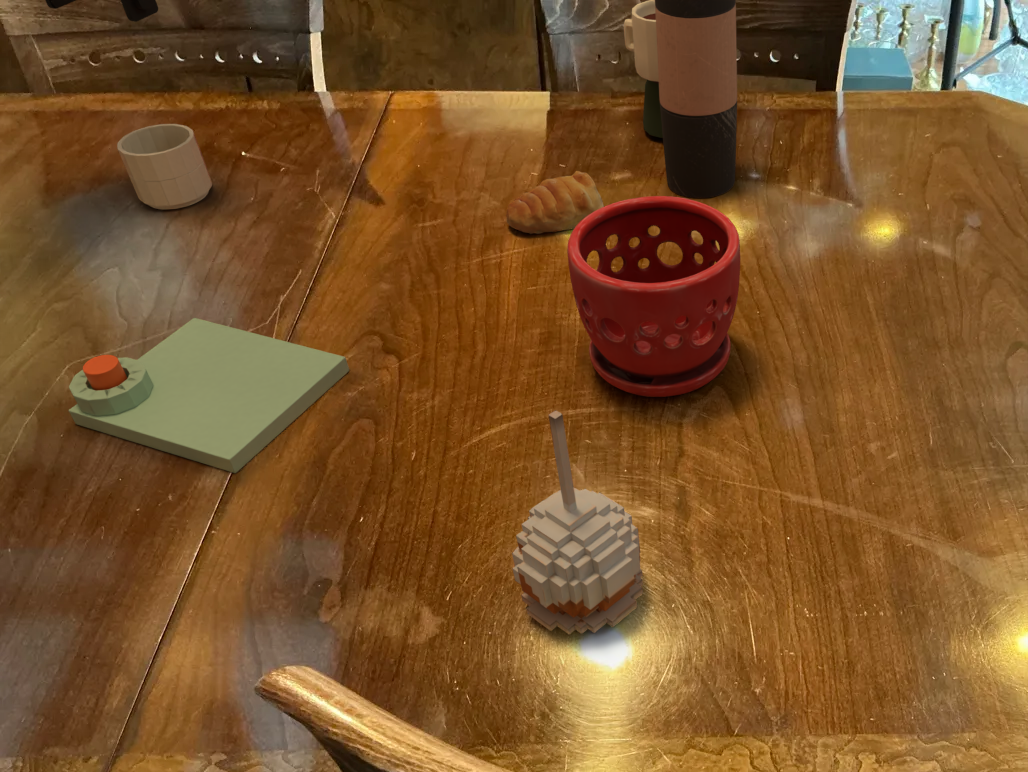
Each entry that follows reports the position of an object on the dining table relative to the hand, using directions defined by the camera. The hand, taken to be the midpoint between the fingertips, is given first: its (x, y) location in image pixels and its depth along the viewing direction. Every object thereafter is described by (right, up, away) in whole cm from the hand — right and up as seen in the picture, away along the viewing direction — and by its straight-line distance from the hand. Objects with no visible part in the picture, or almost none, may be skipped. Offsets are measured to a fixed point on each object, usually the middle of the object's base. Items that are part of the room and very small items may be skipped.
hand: (104, 10), depth 99 cm
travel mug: (+55, -12, +13) cm, 58 cm away
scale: (+16, -37, -12) cm, 42 cm away
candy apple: (+48, -53, -28) cm, 77 cm away
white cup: (0, -13, +13) cm, 18 cm away
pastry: (+41, -17, +8) cm, 45 cm away
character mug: (+51, -3, +22) cm, 56 cm away
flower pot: (+52, -35, -10) cm, 63 cm away
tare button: (+9, -37, -15) cm, 40 cm away
